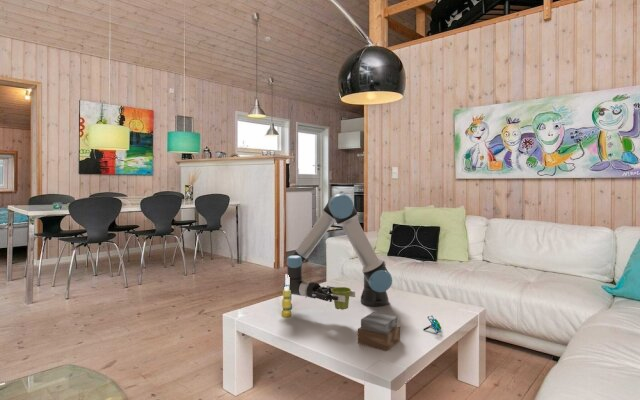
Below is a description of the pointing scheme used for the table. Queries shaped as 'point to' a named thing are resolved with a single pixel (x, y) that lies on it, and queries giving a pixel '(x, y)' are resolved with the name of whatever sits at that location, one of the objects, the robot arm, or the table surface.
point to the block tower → (379, 331)
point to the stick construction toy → (436, 324)
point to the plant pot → (344, 292)
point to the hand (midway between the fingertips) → (349, 296)
